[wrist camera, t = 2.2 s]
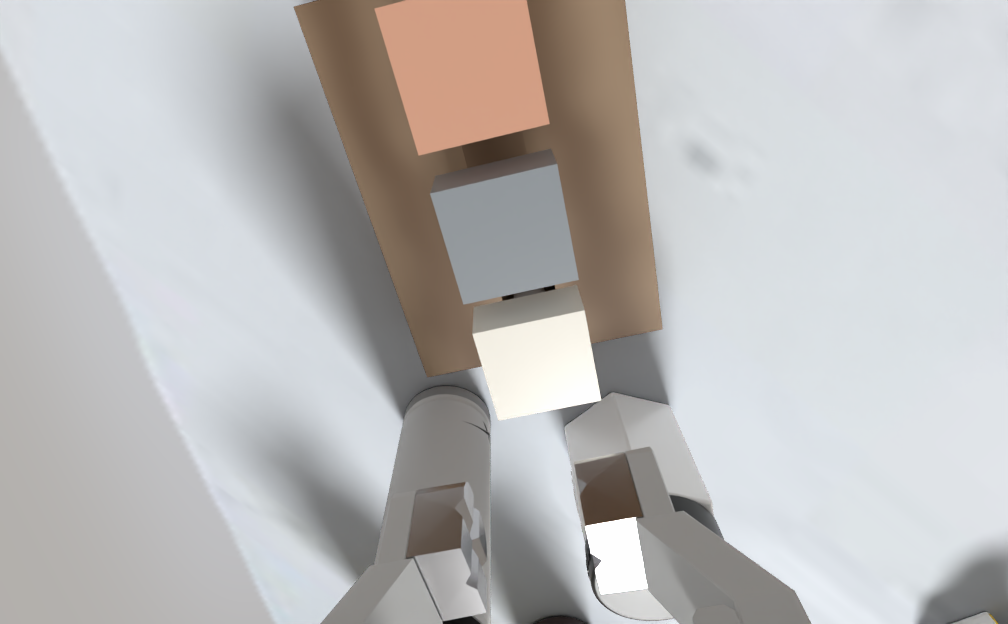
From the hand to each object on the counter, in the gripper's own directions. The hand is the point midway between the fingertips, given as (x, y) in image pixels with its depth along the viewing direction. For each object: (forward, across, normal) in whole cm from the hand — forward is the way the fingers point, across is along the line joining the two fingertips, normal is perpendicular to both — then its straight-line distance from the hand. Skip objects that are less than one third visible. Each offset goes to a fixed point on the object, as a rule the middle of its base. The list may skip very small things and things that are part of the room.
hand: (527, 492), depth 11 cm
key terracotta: (+21, 0, -6) cm, 22 cm away
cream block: (+21, 0, +6) cm, 22 cm away
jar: (+25, -4, +22) cm, 34 cm away
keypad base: (+25, 0, 0) cm, 25 cm away
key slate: (+21, 0, 0) cm, 21 cm away
